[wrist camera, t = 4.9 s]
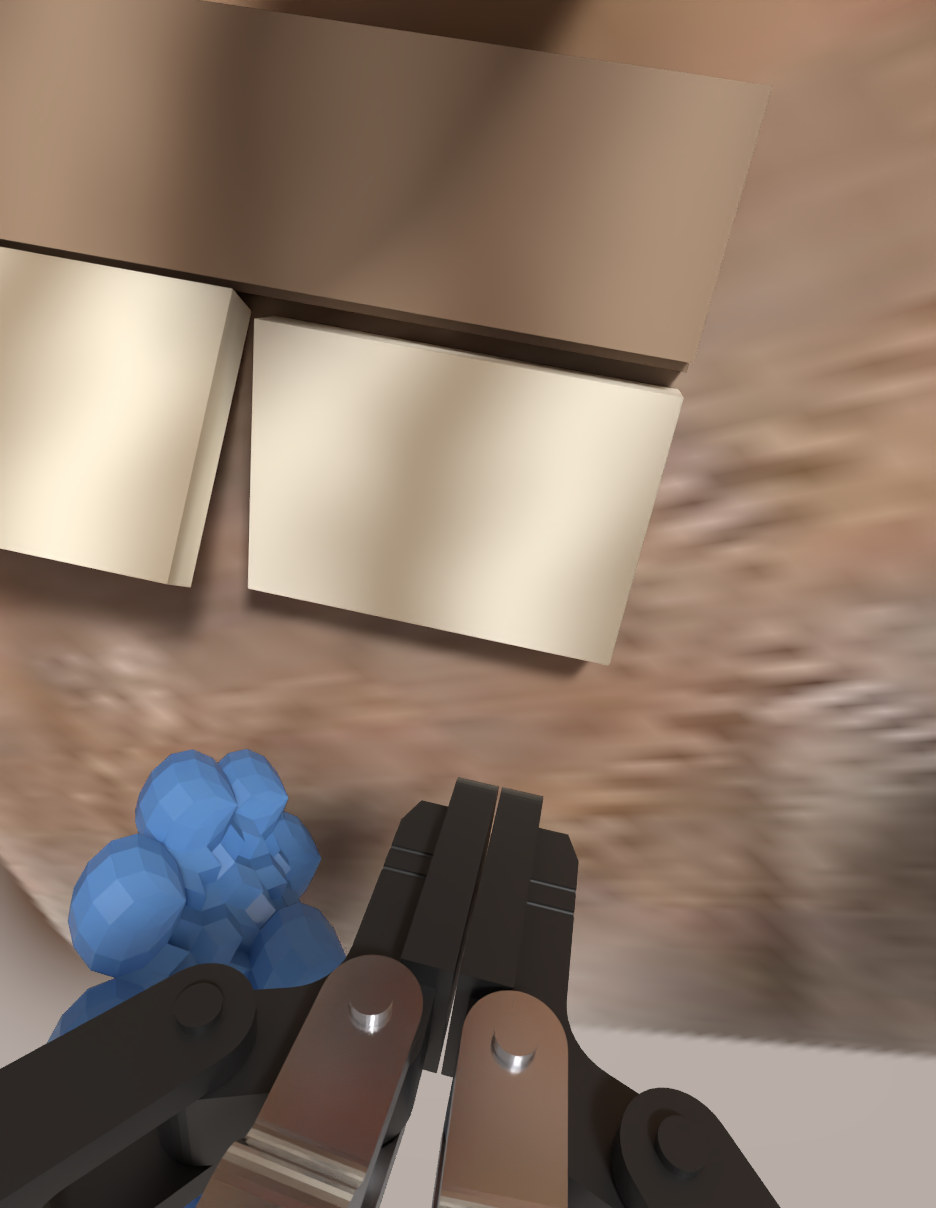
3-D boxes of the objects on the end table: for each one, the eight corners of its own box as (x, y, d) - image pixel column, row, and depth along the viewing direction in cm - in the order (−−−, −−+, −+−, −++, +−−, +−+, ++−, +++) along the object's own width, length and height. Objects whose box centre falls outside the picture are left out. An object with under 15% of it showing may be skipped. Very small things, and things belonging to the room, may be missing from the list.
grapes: (446, 930, 28) (348, 1368, 17) (286, 935, 29) (106, 1335, 19) (350, 670, 23) (131, 1056, 12) (165, 694, 24) (-167, 1051, 14)
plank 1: (251, 311, 18) (232, 288, 17) (190, 587, 18) (166, 583, 17) (-118, 243, 19) (-161, 217, 18) (-179, 507, 19) (-227, 499, 18)
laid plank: (760, 95, 15) (772, 85, 13) (683, 367, 17) (689, 377, 16) (-181, -46, 16) (-236, -66, 15) (-123, 222, 19) (-165, 222, 18)
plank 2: (678, 389, 17) (683, 397, 16) (608, 644, 20) (609, 665, 19) (274, 315, 18) (254, 318, 17) (265, 571, 21) (248, 588, 20)
